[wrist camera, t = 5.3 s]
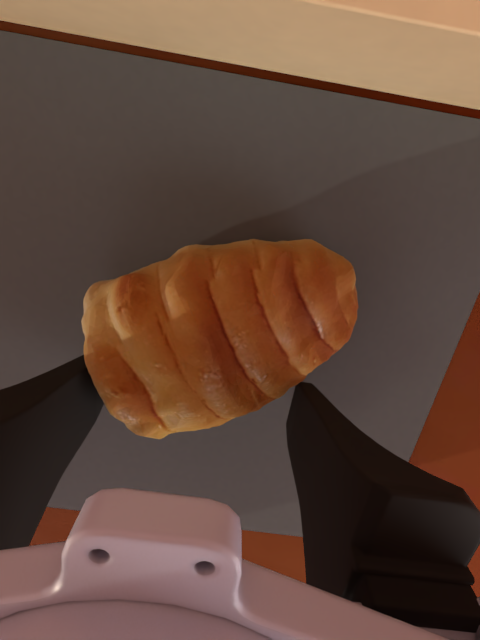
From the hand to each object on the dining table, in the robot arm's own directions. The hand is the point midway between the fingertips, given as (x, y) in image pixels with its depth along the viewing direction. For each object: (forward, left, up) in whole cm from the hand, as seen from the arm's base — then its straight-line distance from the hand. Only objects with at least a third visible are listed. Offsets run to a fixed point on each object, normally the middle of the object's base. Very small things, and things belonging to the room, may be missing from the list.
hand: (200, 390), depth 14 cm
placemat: (+1, 0, -1) cm, 2 cm away
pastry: (+3, 0, -2) cm, 3 cm away
